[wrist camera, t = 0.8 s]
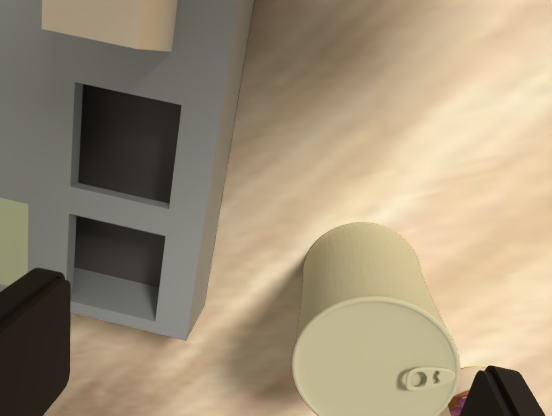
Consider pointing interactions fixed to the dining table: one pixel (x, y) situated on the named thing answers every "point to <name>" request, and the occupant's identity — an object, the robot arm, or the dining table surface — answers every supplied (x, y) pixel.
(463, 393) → the milk bottle
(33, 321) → the robot arm
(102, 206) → the box
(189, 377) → the dining table surface
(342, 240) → the can
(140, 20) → the block
